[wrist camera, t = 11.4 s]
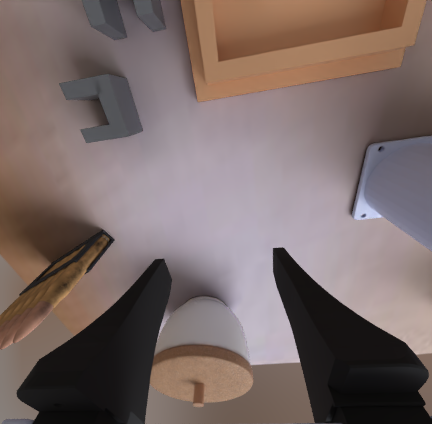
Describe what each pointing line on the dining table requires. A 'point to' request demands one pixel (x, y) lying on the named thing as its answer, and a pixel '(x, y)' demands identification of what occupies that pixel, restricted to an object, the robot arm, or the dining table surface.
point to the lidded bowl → (202, 354)
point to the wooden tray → (293, 41)
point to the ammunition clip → (50, 289)
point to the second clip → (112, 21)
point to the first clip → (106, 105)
